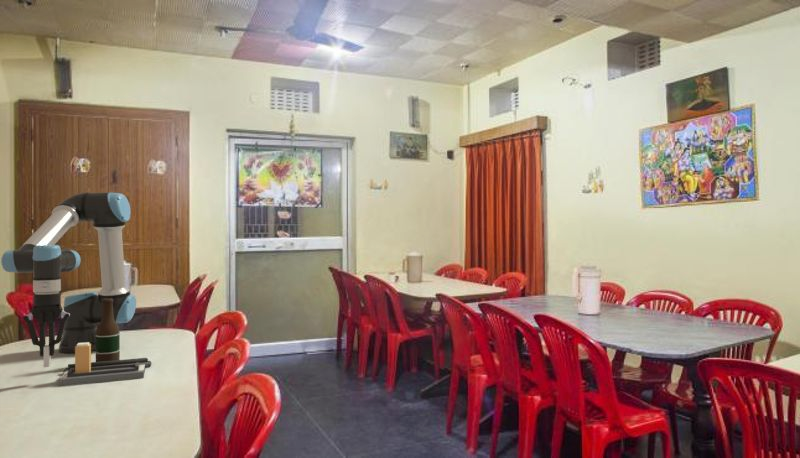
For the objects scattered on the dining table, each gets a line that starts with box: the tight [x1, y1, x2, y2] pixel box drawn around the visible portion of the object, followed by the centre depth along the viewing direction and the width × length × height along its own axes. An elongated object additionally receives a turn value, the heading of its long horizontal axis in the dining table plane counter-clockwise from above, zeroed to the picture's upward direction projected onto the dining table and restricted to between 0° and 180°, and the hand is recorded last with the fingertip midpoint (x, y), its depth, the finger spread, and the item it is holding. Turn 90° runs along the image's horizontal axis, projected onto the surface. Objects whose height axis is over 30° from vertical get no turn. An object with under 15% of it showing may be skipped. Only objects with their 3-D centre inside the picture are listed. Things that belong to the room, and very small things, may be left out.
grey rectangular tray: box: [58, 362, 146, 387], centre depth 182 cm, size 12×24×3 cm, turn 113°
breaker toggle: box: [74, 342, 92, 373], centre depth 179 cm, size 4×4×10 cm
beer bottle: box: [95, 298, 121, 362], centre depth 200 cm, size 8×8×24 cm
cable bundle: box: [63, 357, 152, 374], centre depth 191 cm, size 27×4×3 cm, turn 113°
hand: (47, 365), depth 175 cm, fingers closed
